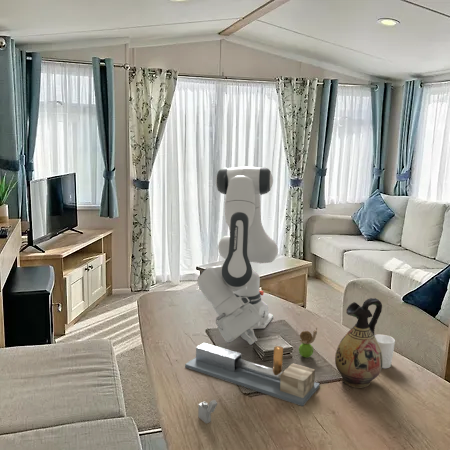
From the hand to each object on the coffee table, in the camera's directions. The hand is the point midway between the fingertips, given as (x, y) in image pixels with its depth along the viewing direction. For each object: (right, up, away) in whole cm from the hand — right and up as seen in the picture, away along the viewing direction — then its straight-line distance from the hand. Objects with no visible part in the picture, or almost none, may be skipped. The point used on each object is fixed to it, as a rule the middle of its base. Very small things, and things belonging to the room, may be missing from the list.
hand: (254, 342), depth 168 cm
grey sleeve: (-12, -10, +9) cm, 18 cm away
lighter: (-15, -18, -24) cm, 33 cm away
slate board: (-1, -12, +2) cm, 13 cm away
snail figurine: (+21, -10, +18) cm, 29 cm away
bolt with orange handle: (+3, -11, 0) cm, 11 cm away
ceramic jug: (+36, -14, +1) cm, 38 cm away
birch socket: (+14, -13, -7) cm, 20 cm away
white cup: (+47, -11, +13) cm, 51 cm away
